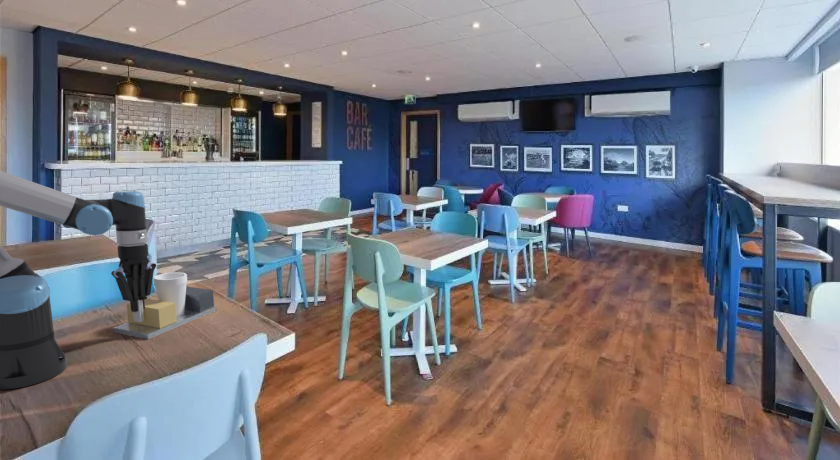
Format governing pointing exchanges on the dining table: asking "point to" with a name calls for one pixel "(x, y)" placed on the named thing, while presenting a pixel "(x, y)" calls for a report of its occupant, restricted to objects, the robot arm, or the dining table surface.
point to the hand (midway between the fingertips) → (139, 320)
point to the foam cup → (172, 289)
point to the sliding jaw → (155, 313)
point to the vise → (194, 307)
